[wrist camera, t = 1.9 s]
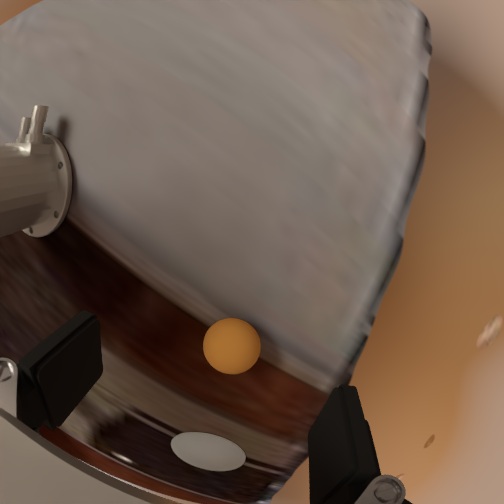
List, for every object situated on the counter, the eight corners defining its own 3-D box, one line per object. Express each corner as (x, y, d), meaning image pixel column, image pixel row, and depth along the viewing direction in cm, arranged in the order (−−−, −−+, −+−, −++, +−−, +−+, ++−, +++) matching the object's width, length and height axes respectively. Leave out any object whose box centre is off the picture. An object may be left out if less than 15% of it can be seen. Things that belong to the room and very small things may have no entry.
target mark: (171, 423, 34) (171, 424, 34) (253, 442, 34) (252, 443, 34) (170, 459, 37) (170, 460, 37) (238, 475, 37) (238, 476, 37)
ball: (213, 302, 28) (200, 330, 23) (267, 314, 28) (265, 345, 23) (206, 345, 30) (194, 377, 24) (255, 357, 29) (251, 390, 24)
